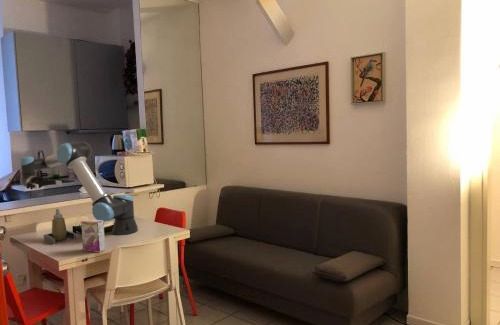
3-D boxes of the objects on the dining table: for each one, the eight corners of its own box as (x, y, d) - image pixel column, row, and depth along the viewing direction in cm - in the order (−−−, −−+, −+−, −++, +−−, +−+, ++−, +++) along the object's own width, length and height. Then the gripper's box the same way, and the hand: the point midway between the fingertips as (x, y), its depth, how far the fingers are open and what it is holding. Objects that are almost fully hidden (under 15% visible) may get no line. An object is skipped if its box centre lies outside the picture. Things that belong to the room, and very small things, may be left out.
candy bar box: (82, 251, 225) (80, 221, 223) (89, 248, 230) (86, 219, 228) (99, 252, 222) (97, 222, 220) (106, 249, 226) (103, 220, 224)
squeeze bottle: (55, 237, 252) (52, 207, 250) (69, 236, 253) (66, 207, 251) (50, 241, 244) (47, 210, 242) (64, 240, 245) (62, 210, 243)
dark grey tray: (44, 240, 248) (43, 234, 248) (65, 235, 258) (65, 229, 257) (53, 244, 239) (53, 238, 239) (76, 239, 249) (75, 233, 249)
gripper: (55, 185, 275) (70, 188, 261) (14, 191, 256) (28, 194, 242) (54, 173, 274) (69, 176, 260) (13, 179, 255) (27, 181, 241)
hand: (49, 185), depth 251 cm, fingers open, 13 cm apart
